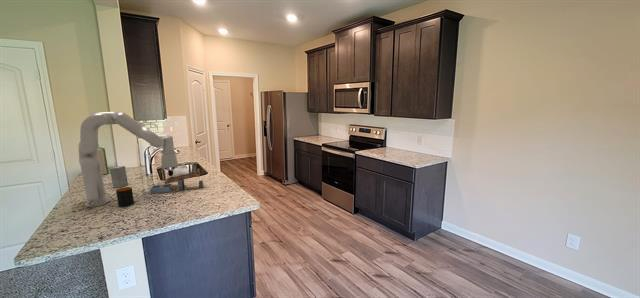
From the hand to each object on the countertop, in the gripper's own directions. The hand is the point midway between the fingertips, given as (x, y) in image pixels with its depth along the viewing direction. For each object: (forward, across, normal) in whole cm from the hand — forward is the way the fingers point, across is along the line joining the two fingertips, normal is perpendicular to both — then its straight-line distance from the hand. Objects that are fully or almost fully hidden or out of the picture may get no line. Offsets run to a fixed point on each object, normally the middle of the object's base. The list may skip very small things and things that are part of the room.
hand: (170, 175), depth 206 cm
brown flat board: (+1, +10, -3) cm, 10 cm away
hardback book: (+10, -74, +66) cm, 99 cm away
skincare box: (+10, -40, +16) cm, 44 cm away
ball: (+7, -5, -8) cm, 12 cm away
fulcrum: (+9, +8, -8) cm, 15 cm away
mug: (+10, -20, -31) cm, 38 cm away
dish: (+9, -5, -8) cm, 13 cm away
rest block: (+9, +22, -8) cm, 25 cm away
